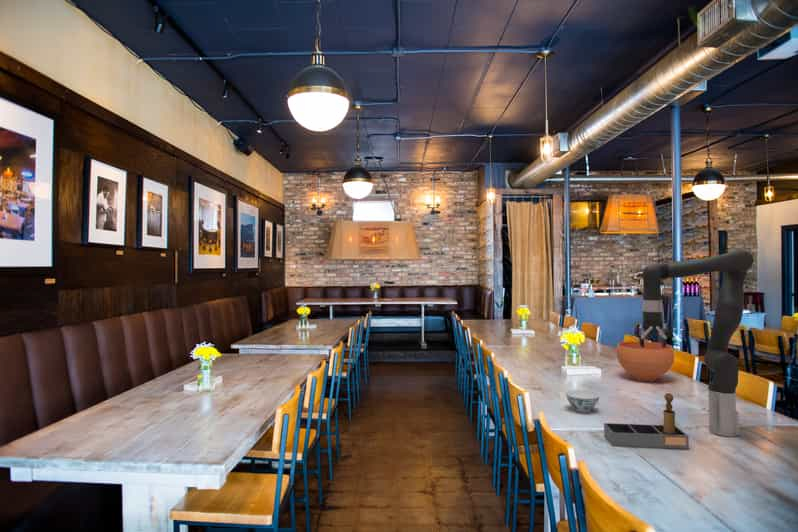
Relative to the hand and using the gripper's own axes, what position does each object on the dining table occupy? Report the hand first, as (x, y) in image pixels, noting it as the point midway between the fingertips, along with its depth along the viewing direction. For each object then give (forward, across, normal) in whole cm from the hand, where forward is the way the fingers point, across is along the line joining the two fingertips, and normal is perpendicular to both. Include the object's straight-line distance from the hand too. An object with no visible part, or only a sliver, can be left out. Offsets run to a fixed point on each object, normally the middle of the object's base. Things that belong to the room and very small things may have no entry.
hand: (652, 347), depth 204 cm
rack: (+33, +12, +24) cm, 43 cm away
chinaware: (+33, +26, -15) cm, 45 cm away
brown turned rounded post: (+32, +3, +25) cm, 40 cm away
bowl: (+33, -24, -79) cm, 89 cm away
